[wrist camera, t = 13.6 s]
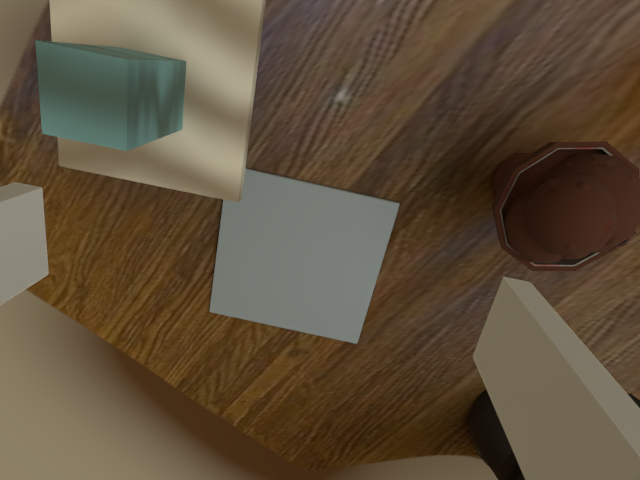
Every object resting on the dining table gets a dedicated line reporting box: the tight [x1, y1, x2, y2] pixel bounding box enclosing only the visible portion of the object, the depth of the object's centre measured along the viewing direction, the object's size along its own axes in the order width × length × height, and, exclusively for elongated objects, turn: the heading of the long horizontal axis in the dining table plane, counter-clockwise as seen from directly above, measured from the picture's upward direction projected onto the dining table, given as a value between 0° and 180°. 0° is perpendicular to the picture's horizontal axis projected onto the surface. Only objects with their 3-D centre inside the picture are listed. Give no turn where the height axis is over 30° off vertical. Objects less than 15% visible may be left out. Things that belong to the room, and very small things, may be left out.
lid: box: [35, 0, 266, 202], centre depth 28 cm, size 15×15×10 cm
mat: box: [209, 168, 400, 344], centre depth 46 cm, size 18×18×1 cm
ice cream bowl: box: [492, 142, 640, 271], centre depth 34 cm, size 11×11×15 cm
